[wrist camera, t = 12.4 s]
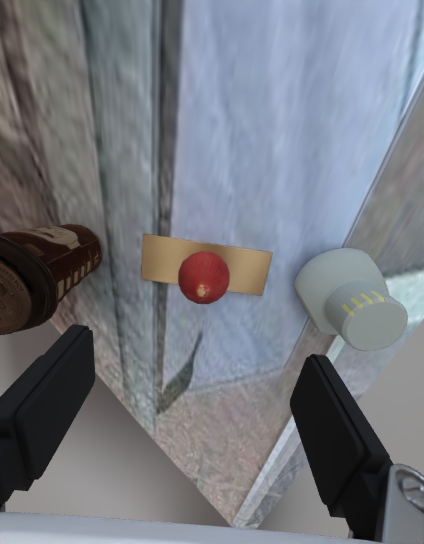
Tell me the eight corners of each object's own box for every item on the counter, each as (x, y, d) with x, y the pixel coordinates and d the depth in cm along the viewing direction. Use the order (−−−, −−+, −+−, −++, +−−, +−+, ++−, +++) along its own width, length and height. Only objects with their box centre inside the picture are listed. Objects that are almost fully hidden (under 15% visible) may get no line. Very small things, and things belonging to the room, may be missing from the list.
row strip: (142, 278, 31) (141, 279, 30) (143, 233, 28) (143, 234, 28) (261, 294, 31) (261, 295, 31) (272, 252, 29) (272, 252, 29)
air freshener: (280, 264, 30) (310, 303, 20) (343, 231, 28) (406, 256, 19) (313, 326, 33) (352, 383, 24) (371, 299, 31) (437, 350, 22)
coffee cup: (29, 221, 28) (-111, 252, 16) (94, 204, 27) (-2, 224, 15) (63, 285, 31) (-34, 352, 19) (121, 272, 30) (60, 334, 18)
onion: (226, 288, 31) (229, 322, 23) (182, 285, 31) (171, 319, 23) (229, 245, 29) (235, 268, 21) (182, 242, 28) (171, 264, 21)
